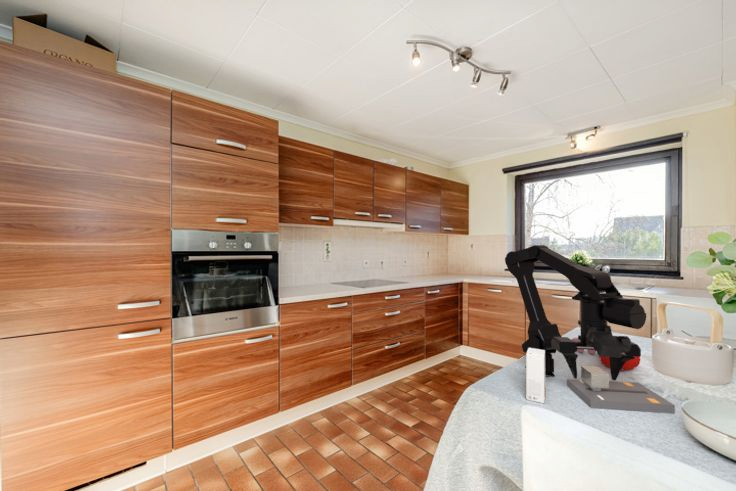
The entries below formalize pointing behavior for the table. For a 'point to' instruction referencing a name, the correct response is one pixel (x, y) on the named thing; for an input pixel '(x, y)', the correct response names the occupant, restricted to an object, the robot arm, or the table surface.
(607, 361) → the tomato
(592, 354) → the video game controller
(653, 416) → the table surface
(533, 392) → the skincare box
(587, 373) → the fader knob
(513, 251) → the robot arm
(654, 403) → the fader board
